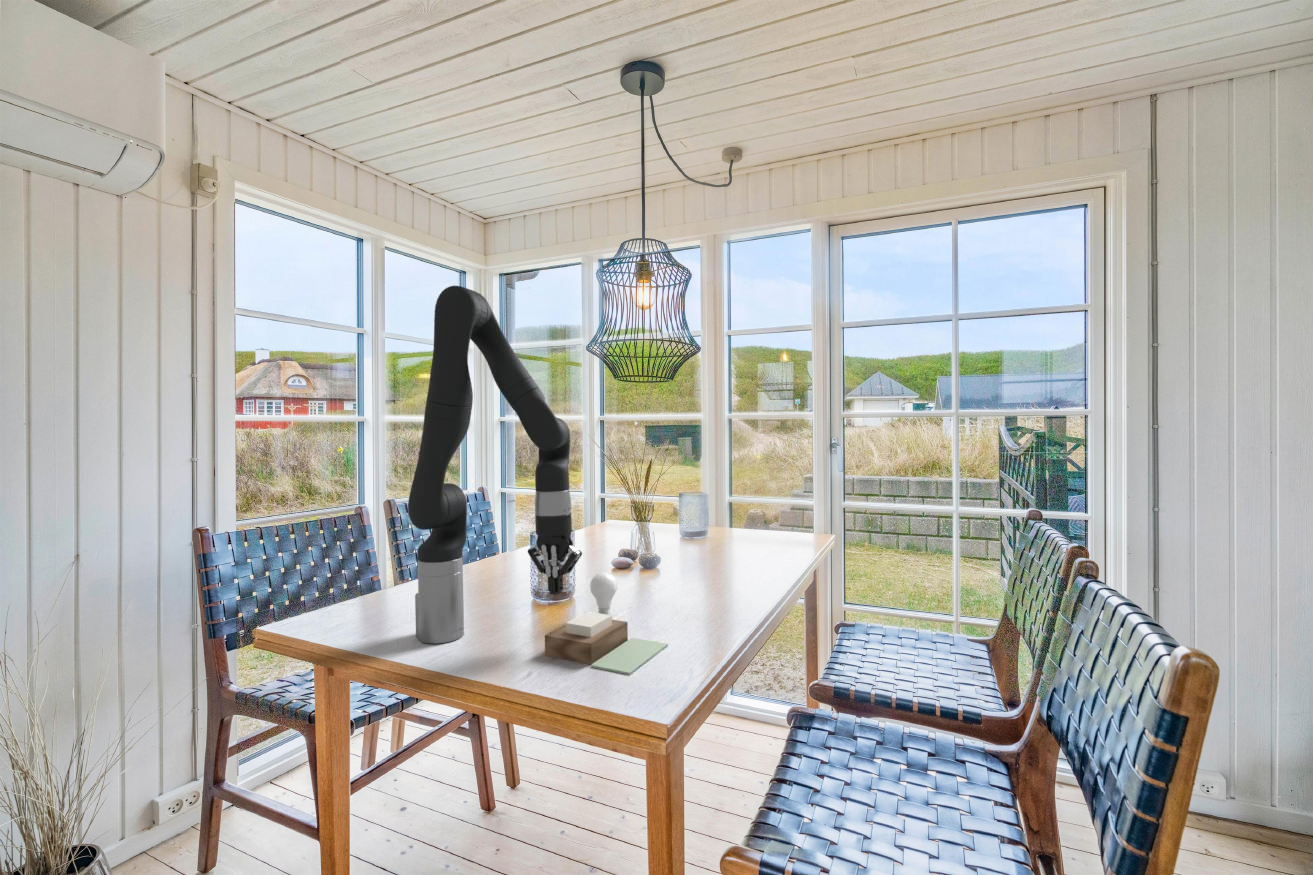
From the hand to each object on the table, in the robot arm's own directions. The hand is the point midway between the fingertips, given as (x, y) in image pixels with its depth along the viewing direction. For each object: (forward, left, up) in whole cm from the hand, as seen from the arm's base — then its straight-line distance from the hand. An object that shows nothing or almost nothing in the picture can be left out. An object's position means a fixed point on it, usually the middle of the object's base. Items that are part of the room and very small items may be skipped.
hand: (555, 593), depth 127 cm
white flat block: (+8, 0, -6) cm, 10 cm away
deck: (+8, 0, -10) cm, 13 cm away
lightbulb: (+1, +17, -11) cm, 20 cm away
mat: (+18, 0, -10) cm, 21 cm away
